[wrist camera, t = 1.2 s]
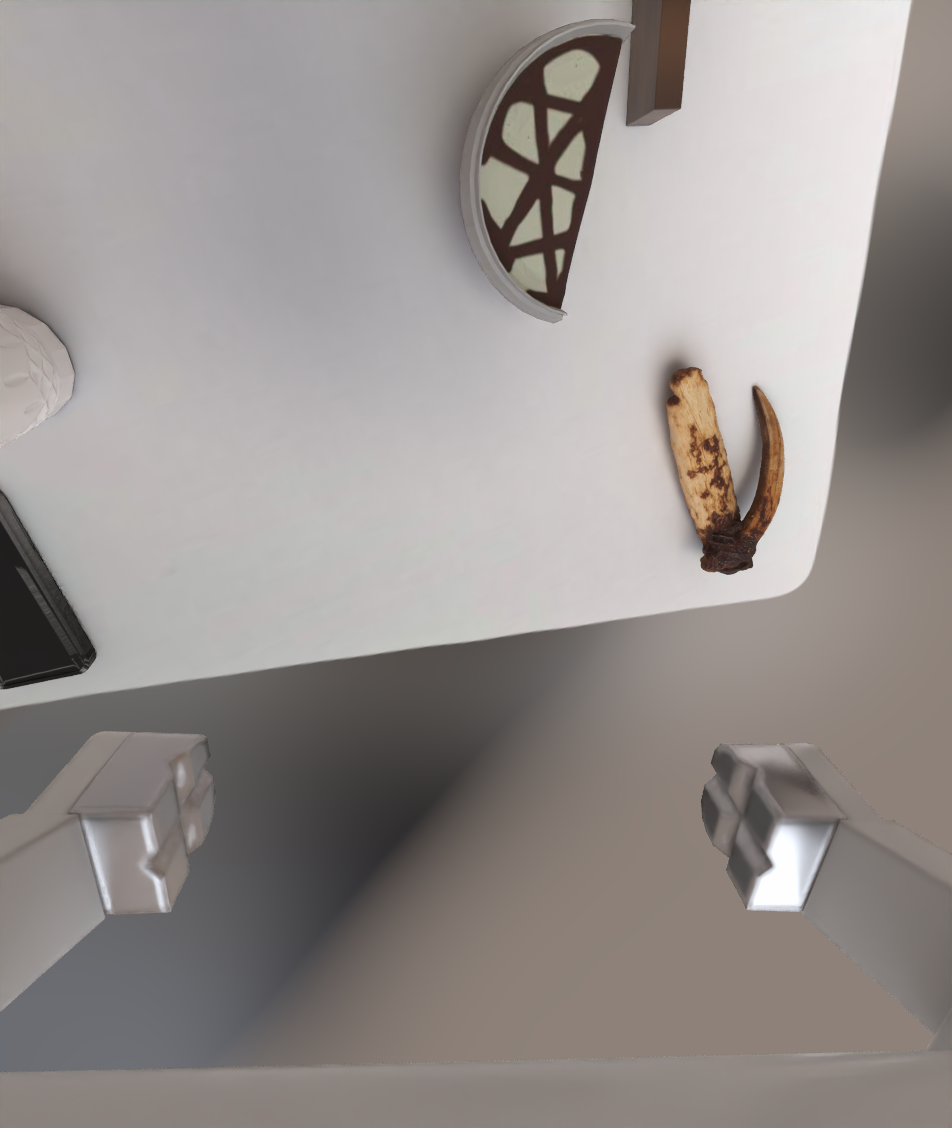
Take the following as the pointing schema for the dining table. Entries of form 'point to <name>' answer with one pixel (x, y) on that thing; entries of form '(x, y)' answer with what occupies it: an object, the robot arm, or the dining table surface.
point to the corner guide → (657, 59)
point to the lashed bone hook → (721, 474)
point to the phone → (34, 615)
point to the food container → (538, 160)
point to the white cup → (30, 373)
